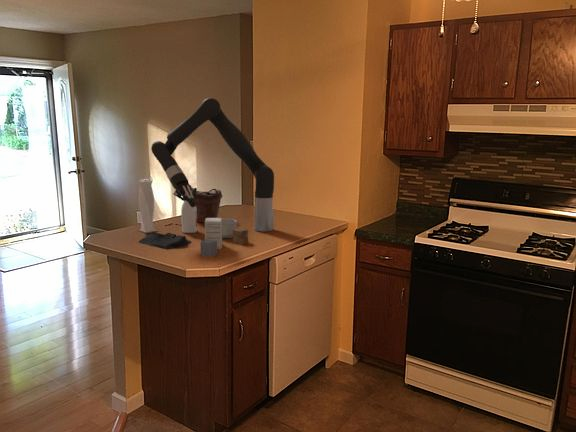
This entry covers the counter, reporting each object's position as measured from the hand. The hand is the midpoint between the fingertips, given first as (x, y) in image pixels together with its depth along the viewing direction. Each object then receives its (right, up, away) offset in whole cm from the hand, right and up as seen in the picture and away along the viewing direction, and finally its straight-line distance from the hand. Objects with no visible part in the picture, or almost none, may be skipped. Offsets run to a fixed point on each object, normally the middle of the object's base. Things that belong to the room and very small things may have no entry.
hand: (194, 206), depth 229 cm
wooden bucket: (-3, -7, +50) cm, 51 cm away
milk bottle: (-7, -13, +22) cm, 27 cm away
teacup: (+11, -15, +14) cm, 24 cm away
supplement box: (+10, -19, -4) cm, 21 cm away
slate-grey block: (+9, -21, -17) cm, 29 cm away
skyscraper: (-27, -12, +21) cm, 37 cm away
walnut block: (+21, -17, +4) cm, 27 cm away
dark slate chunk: (-14, -18, +1) cm, 22 cm away
